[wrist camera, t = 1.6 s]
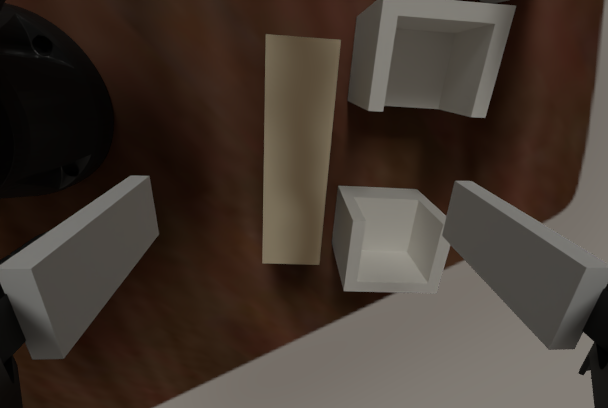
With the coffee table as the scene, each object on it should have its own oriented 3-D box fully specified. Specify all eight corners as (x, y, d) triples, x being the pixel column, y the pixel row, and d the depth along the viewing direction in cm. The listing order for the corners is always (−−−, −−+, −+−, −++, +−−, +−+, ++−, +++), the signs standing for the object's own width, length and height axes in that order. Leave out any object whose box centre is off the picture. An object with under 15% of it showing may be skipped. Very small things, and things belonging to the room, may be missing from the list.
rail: (266, 233, 29) (262, 263, 25) (270, 41, 23) (265, 34, 19) (314, 235, 30) (319, 264, 25) (330, 46, 24) (340, 40, 19)
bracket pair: (331, 243, 34) (343, 291, 26) (356, 16, 26) (384, -6, 18) (404, 245, 34) (436, 293, 27) (452, 24, 26) (516, 5, 19)
